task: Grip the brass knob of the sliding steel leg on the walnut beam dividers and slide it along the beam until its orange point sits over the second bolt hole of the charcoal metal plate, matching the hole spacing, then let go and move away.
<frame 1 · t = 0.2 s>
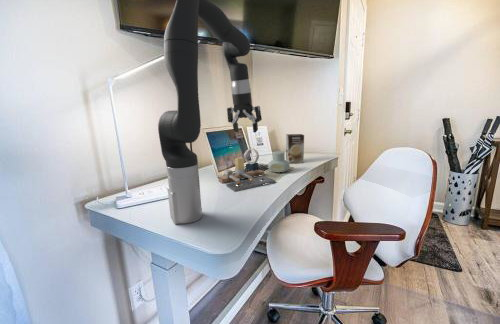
hand: (245, 132, 107), 23 cm above the table, tool pointing down, fingers open, 8 cm apart
coffee box: (294, 162, 149), on the table
watch: (251, 169, 137), on the table
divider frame: (242, 178, 121), on the table
air freshener: (278, 171, 131), on the table
bolt plate: (251, 184, 112), on the table
sliding leg: (244, 168, 116), point 6 cm above the table, slide at 0.0 cm
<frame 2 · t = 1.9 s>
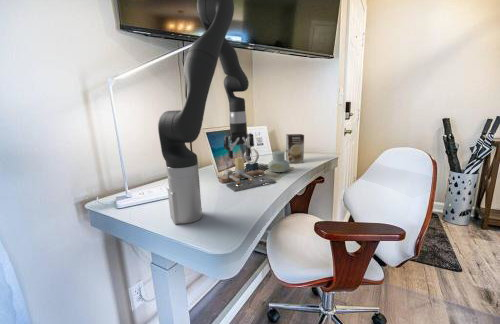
hand: (239, 157, 119), 10 cm above the table, tool pointing down, fingers open, 8 cm apart
nothing on the table moved.
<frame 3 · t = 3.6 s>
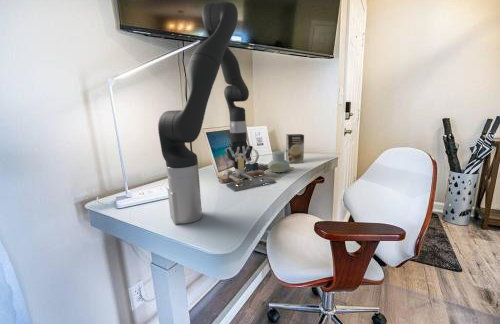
hand: (239, 168, 120), 5 cm above the table, tool pointing down, fingers closed on sliding leg, 3 cm apart
sliding leg: (244, 168, 116), point 6 cm above the table, slide at 0.0 cm, touching gripper
everything else where it was.
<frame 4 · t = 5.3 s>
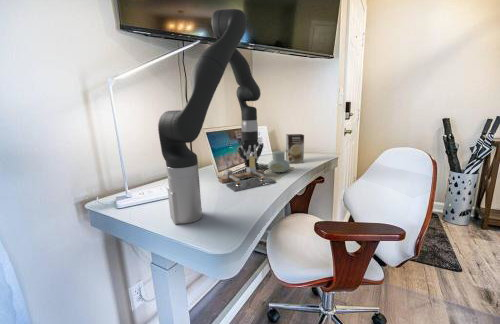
hand: (250, 166, 122), 5 cm above the table, tool pointing down, fingers closed on sliding leg, 3 cm apart
sliding leg: (255, 166, 118), point 6 cm above the table, slide at 5.9 cm, touching gripper
everything else where it was.
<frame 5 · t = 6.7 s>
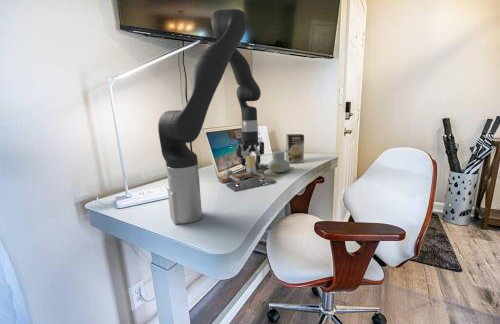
hand: (251, 164, 122), 6 cm above the table, tool pointing down, fingers open, 7 cm apart
sliding leg: (255, 166, 118), point 6 cm above the table, slide at 5.9 cm
everything else where it was.
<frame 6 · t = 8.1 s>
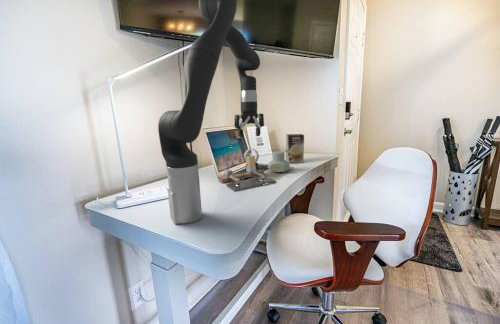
hand: (249, 136, 119), 19 cm above the table, tool pointing down, fingers open, 8 cm apart
nothing on the table moved.
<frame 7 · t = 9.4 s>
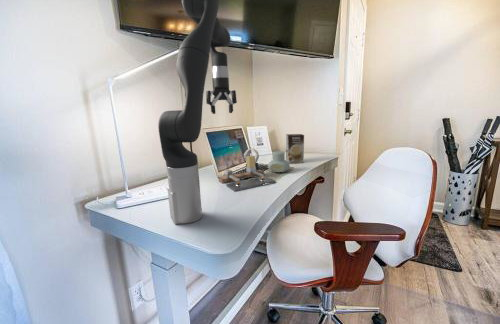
hand: (222, 113, 121), 30 cm above the table, tool pointing down, fingers open, 8 cm apart
nothing on the table moved.
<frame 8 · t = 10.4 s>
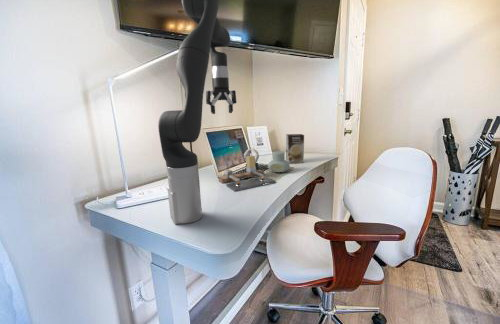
hand: (222, 113, 121), 30 cm above the table, tool pointing down, fingers open, 8 cm apart
nothing on the table moved.
at the end: sliding leg slide at 5.9 cm; the gripper is holding nothing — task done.
